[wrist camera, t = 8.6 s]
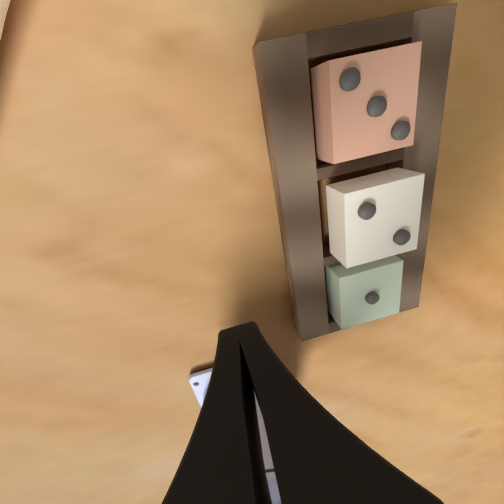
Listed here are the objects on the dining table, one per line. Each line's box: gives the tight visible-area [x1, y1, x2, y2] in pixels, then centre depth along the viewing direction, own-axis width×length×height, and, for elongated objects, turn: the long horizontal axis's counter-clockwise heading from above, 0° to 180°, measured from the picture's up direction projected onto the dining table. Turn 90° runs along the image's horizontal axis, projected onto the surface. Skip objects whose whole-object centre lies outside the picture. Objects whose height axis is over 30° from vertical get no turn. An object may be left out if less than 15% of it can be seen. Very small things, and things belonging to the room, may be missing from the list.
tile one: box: [325, 255, 404, 330], centre depth 21 cm, size 5×5×3 cm
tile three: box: [310, 41, 422, 164], centre depth 15 cm, size 5×5×3 cm
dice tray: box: [253, 3, 457, 341], centre depth 19 cm, size 21×11×2 cm, turn 11°
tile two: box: [326, 168, 425, 268], centre depth 17 cm, size 5×5×3 cm
